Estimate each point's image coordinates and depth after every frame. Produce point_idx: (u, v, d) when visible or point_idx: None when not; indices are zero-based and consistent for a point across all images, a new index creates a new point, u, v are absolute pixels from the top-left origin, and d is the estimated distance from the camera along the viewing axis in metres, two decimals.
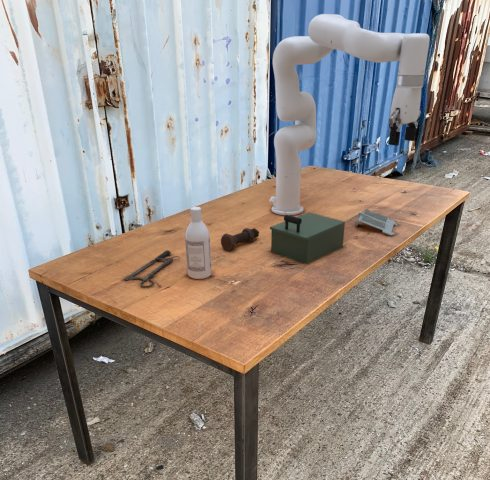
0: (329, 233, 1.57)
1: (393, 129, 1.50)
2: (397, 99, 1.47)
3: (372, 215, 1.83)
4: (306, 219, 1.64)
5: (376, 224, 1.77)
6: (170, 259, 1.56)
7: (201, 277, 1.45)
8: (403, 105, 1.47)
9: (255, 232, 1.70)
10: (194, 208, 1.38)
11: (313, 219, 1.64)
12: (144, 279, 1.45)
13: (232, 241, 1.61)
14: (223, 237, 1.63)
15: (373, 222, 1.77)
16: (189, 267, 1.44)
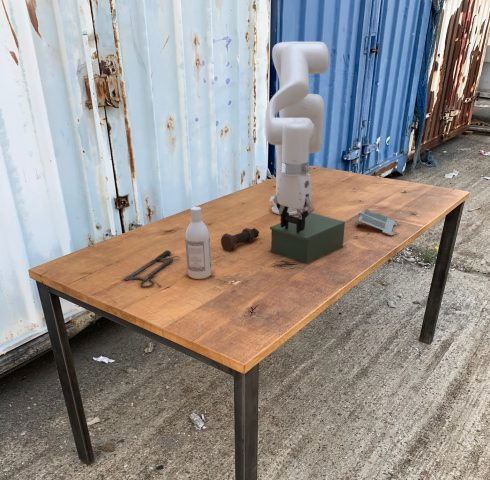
0: (329, 233, 1.57)
1: None
2: None
3: (372, 215, 1.83)
4: (306, 219, 1.64)
5: (376, 224, 1.77)
6: (170, 259, 1.56)
7: (201, 277, 1.45)
8: None
9: (255, 232, 1.70)
10: (194, 208, 1.38)
11: (313, 219, 1.64)
12: (144, 279, 1.45)
13: (232, 241, 1.61)
14: (223, 237, 1.63)
15: (373, 222, 1.77)
16: (189, 267, 1.44)
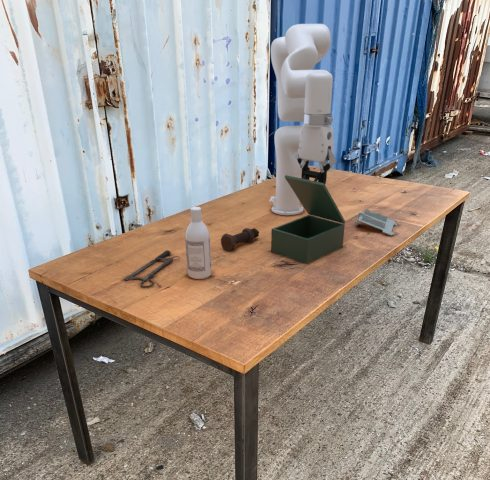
0: (329, 233, 1.57)
1: None
2: None
3: (372, 215, 1.83)
4: None
5: (376, 224, 1.77)
6: (170, 259, 1.56)
7: (201, 277, 1.45)
8: None
9: (255, 232, 1.70)
10: (194, 208, 1.38)
11: None
12: (144, 279, 1.45)
13: (232, 241, 1.61)
14: (223, 237, 1.63)
15: (373, 222, 1.77)
16: (189, 267, 1.44)
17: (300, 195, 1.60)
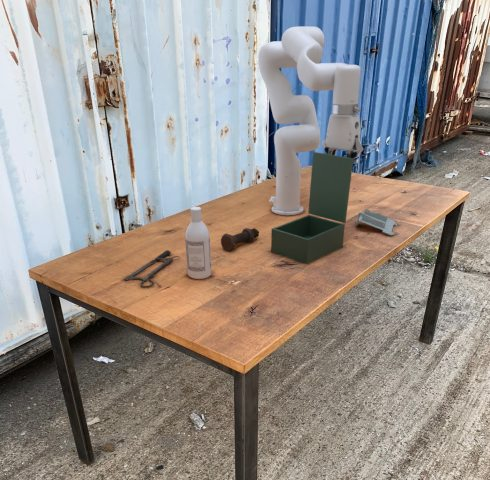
0: (329, 233, 1.57)
1: None
2: None
3: (372, 215, 1.83)
4: None
5: (376, 224, 1.77)
6: (170, 259, 1.56)
7: (201, 277, 1.45)
8: None
9: (255, 232, 1.70)
10: (194, 208, 1.38)
11: None
12: (144, 279, 1.45)
13: (232, 241, 1.61)
14: (223, 237, 1.63)
15: (373, 222, 1.77)
16: (189, 267, 1.44)
17: (316, 181, 1.63)
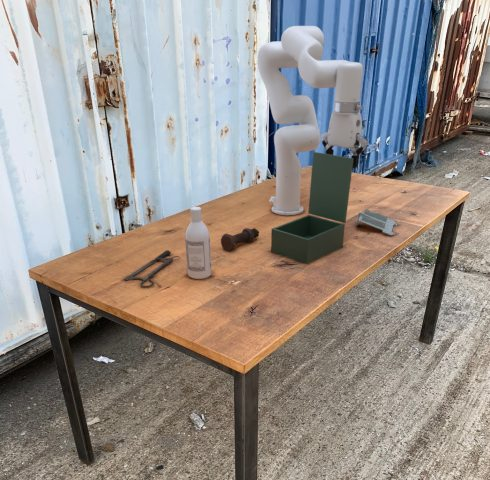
0: (329, 233, 1.57)
1: None
2: None
3: (372, 215, 1.83)
4: None
5: (376, 224, 1.77)
6: (170, 259, 1.56)
7: (201, 277, 1.45)
8: None
9: (255, 232, 1.70)
10: (194, 208, 1.38)
11: None
12: (144, 279, 1.45)
13: (232, 241, 1.61)
14: (223, 237, 1.63)
15: (373, 222, 1.77)
16: (189, 267, 1.44)
17: (316, 180, 1.64)
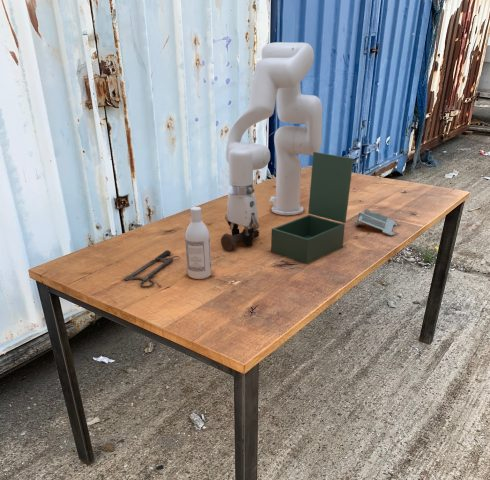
0: (329, 233, 1.57)
1: None
2: None
3: (372, 215, 1.83)
4: None
5: (376, 224, 1.77)
6: (170, 259, 1.56)
7: (201, 277, 1.45)
8: None
9: (255, 232, 1.70)
10: (194, 208, 1.38)
11: None
12: (144, 279, 1.45)
13: (232, 241, 1.61)
14: (223, 237, 1.63)
15: (373, 222, 1.77)
16: (189, 267, 1.44)
17: (316, 180, 1.64)
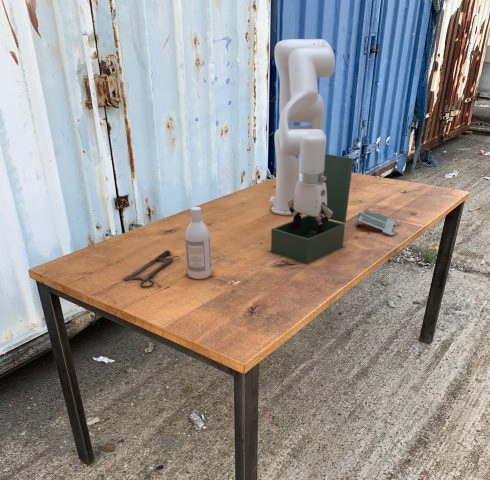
0: (329, 233, 1.57)
1: None
2: None
3: (372, 215, 1.83)
4: None
5: (376, 224, 1.77)
6: (170, 259, 1.56)
7: (201, 277, 1.45)
8: None
9: None
10: (194, 208, 1.38)
11: None
12: (144, 279, 1.45)
13: None
14: None
15: (373, 222, 1.77)
16: (189, 267, 1.44)
17: None
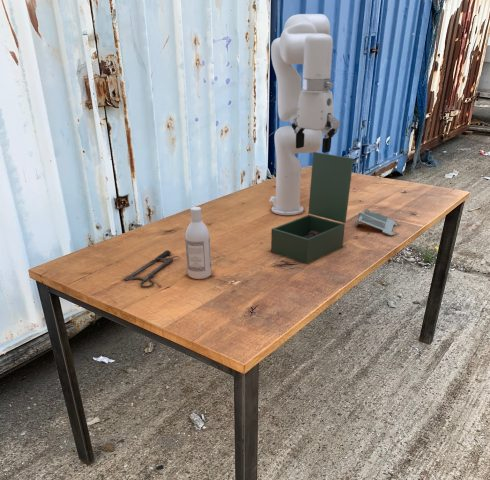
0: (329, 233, 1.57)
1: None
2: None
3: (372, 215, 1.83)
4: None
5: (376, 224, 1.77)
6: (170, 259, 1.56)
7: (201, 277, 1.45)
8: None
9: None
10: (194, 208, 1.38)
11: None
12: (144, 279, 1.45)
13: None
14: None
15: (373, 222, 1.77)
16: (189, 267, 1.44)
17: (316, 180, 1.64)
